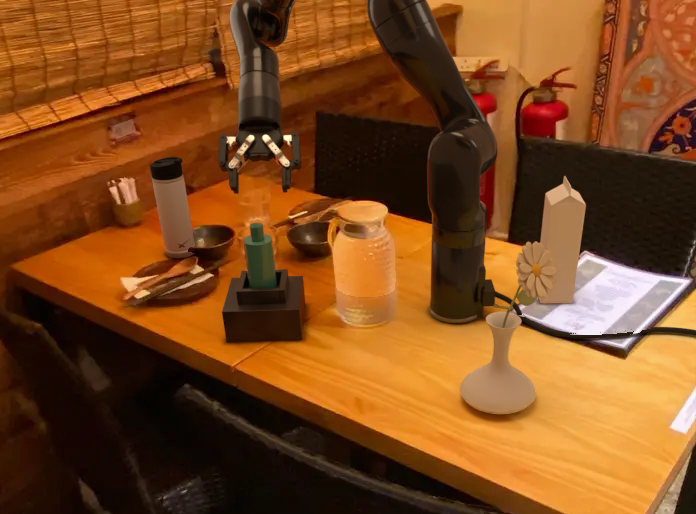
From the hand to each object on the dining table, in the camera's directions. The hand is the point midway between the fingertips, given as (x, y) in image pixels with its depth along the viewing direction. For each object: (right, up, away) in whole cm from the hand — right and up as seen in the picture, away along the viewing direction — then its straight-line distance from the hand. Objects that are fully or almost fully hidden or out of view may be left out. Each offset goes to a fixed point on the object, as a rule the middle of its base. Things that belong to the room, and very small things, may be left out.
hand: (260, 191), depth 135 cm
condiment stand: (+1, -22, +4) cm, 23 cm away
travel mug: (-21, -5, +30) cm, 37 cm away
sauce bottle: (+1, -18, +1) cm, 18 cm away
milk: (+53, -17, +11) cm, 57 cm away
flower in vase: (+39, -36, -16) cm, 56 cm away
